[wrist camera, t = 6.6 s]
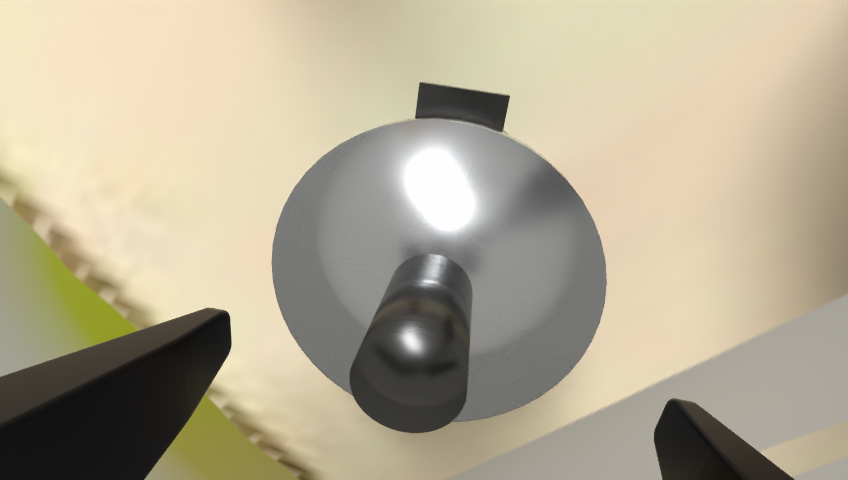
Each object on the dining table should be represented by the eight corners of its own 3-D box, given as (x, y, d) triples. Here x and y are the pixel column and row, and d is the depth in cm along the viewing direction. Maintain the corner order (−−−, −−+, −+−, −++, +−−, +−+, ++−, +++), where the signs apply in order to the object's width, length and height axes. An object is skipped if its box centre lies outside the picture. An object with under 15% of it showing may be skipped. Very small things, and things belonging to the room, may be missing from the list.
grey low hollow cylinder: (600, 105, 18) (640, 116, 13) (525, 370, 23) (535, 445, 18) (343, 66, 18) (296, 64, 14) (328, 331, 24) (289, 394, 19)
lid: (648, 148, 13) (758, 198, 8) (553, 432, 18) (583, 586, 12) (281, 92, 14) (158, 104, 9) (281, 377, 19) (199, 498, 13)
